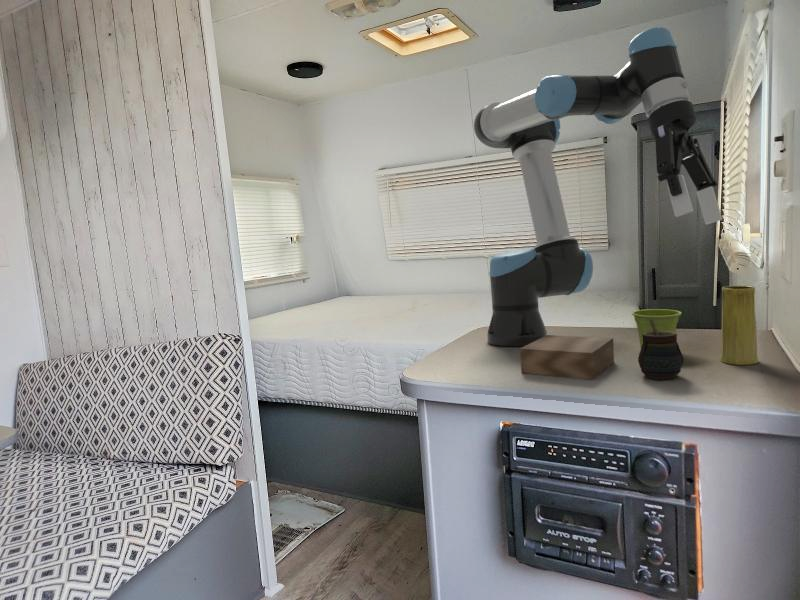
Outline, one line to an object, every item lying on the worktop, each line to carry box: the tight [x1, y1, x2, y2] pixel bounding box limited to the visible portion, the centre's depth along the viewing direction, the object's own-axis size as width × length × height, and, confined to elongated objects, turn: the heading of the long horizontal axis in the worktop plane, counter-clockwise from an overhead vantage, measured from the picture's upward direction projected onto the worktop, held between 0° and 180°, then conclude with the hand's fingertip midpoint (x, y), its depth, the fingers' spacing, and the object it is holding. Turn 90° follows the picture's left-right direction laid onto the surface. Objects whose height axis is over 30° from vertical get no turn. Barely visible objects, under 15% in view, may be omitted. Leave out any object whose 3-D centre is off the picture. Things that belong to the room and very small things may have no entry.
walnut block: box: [519, 334, 615, 380], centre depth 105 cm, size 14×14×5 cm
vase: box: [719, 285, 759, 366], centre depth 99 cm, size 6×6×14 cm
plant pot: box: [631, 308, 682, 349], centre depth 111 cm, size 9×9×9 cm
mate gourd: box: [637, 319, 685, 380], centre depth 94 cm, size 7×8×10 cm
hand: (699, 218), depth 92 cm, fingers open, 13 cm apart
